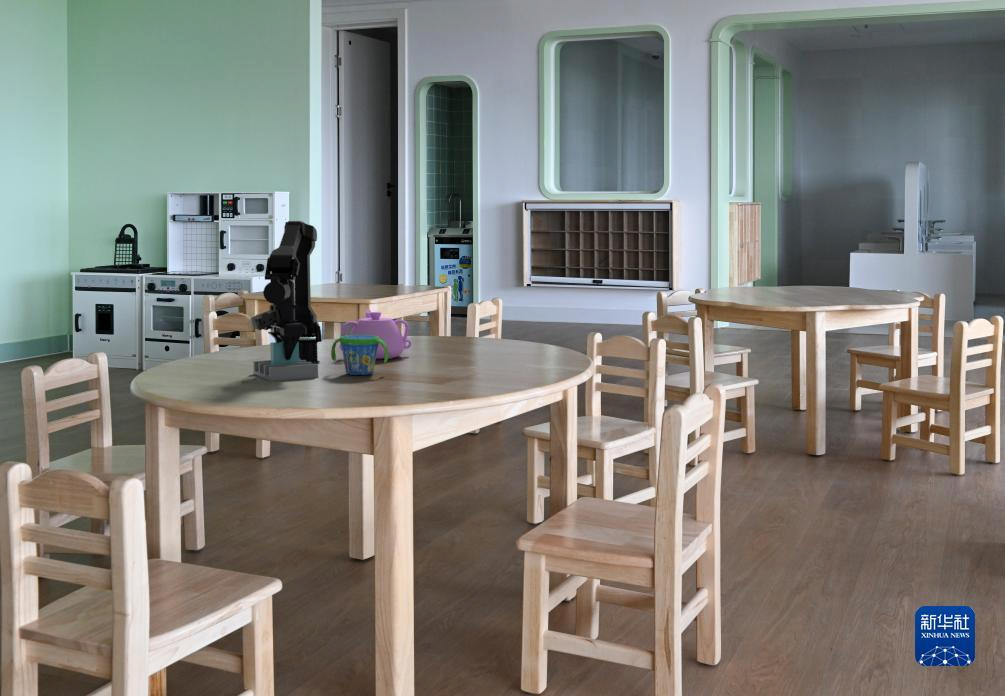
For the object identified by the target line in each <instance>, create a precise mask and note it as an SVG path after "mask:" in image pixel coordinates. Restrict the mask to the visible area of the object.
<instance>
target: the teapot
mask: <svg viewBox="0 0 1005 696" xmlns="http://www.w3.org/2000/svg"><path fill="white" fill-rule="evenodd" d="M381 315H382V312H381V311H371V310H370V309H366V310H365V317H364V318H359V319H358V320H357V321H355V320H350V321H349V320H348V321H347V322H345V323H344V324H343V325H342V327H341V328H342V329H341V332H342V336H347V335H348V334H347V327H348V326H350V325H351V326H352V325H353V327H352V329H351V331H350V332H349V333H350V334H349V335H373V336H378V337H379V339H381V340H383V341H384V342H385V344H386V346H387V349H388V360H392V359H393V358H397V357H399V356H400V355H401V354H402V353H403V351H404V349H405V350H408V349H411V347H412V343H413V342H412V341H411V339H407V338H408V335H409V330H410V326H409V324H408V322H407V321H406V320H403V319H400V318H399V319H395V320H394V319H392V318H389V317H381ZM397 324H403V325H404V333H403V334H402V331H401V330H400V328H399V326H398V325H397ZM406 343H408V344H406ZM339 349H340V351H342V345H341V343H340V342H339ZM384 358H385V350H384V348H383V346H382V345H381V343H380V342H379V344H378V348H377V353H376V359H384ZM376 359H375V360H376Z"/></svg>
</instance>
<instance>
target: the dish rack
mask: <svg viewBox="0 0 1005 696" xmlns="http://www.w3.org/2000/svg"><path fill="white" fill-rule="evenodd" d="M252 363H253V375H255V376H258V377H260V378H261V379H262V378H263V379H265V380H267V381H270V382H275V381H278V382H279V381H289V380H302V379H313V378H314V379H316V378H319V363H312V362H306V360H301V358H299V363H287V364H273V365H271V359H268V360H267V359H266V360H254V361H252Z"/></svg>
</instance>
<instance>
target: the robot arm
mask: <svg viewBox="0 0 1005 696" xmlns="http://www.w3.org/2000/svg"><path fill="white" fill-rule="evenodd" d="M283 232H284V233H283V234H282V237H281V240H280V243H279V246H278V247H277V248H275V249H273V250H272V251H271V253H270V255H269V257H267V259H266V267H265V272H264V280H267V281H268V280H269V281H270V282H267V284H265V286H264V288H263V291H262V293H263V297H264V299H265V300H266V302H268V303H270V305H269V309H268V310H267V311H264V312H261V313H260V314H259V313H258V314H256V315H255V316H252V317H251V318H250V319H251V322H252V325H253V327H254V329H255V330H258V331H262V330H264V331H267V333H268V334H269V335H270V337H271V336H272V338H273V339H274V342H283V348H284V354H285V359H286V360H290V358H291V356H292V354H293V351H294V349H295V347H296V345H297V342H299V358H301V360H306V362H312V364H319V363H321V362H320V360H319V359H318V343H320V342H321V343H322V342H323V335H322V329H321V326H320V323H319V321H318V319H317V314H316V313H315V311H314V309H313V308H312V302H311V301H312V300H311V299H312V298H311V297H312V296H311V259H310V258H311V255H312V253H313V251H314V249H315V248H316V242H317V241H318V232H317V229H316V227H315V226H314V225H311V224H308V223H305V221H302V220H288V221H286V222H285V223H284V231H283ZM269 330H270V331H269Z"/></svg>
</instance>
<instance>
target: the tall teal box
mask: <svg viewBox="0 0 1005 696" xmlns="http://www.w3.org/2000/svg"><path fill="white" fill-rule="evenodd" d="M269 349H270V353H269V354H270V360H271V365H273V364H287V363H299V342H297V345H296V347H295V349H294V351H293V354H292V356H291V358H290V360H286V359H285V354H284V348H283V342H276V341H273V342H270V343H269Z"/></svg>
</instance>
